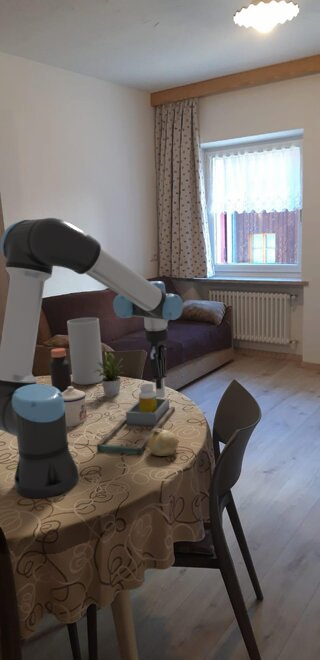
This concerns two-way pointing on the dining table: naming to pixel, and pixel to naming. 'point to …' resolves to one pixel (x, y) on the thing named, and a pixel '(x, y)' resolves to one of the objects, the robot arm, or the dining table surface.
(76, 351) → the cylinder vase
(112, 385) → the house plant
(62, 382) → the vinegar
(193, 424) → the dining table surface
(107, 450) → the bay
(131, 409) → the box
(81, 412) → the teacup with lid
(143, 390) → the supplement bottle
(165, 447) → the onion
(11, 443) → the dining table surface
